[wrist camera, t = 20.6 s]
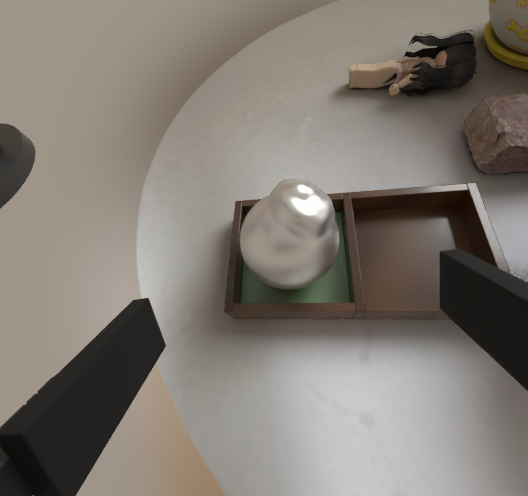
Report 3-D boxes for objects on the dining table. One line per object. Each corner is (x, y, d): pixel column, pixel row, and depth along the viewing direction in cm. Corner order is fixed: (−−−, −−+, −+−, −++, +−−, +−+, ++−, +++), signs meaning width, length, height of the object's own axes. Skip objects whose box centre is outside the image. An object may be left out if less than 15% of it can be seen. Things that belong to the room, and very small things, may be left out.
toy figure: (351, 112, 38) (475, 94, 34) (354, 62, 33) (500, 35, 29) (348, 85, 42) (459, 67, 38) (350, 38, 36) (478, 11, 33)
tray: (233, 318, 27) (223, 311, 25) (242, 216, 33) (235, 200, 30) (501, 319, 23) (525, 311, 21) (460, 201, 29) (475, 182, 26)
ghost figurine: (359, 273, 26) (380, 218, 18) (272, 316, 26) (249, 282, 17) (314, 207, 31) (312, 136, 22) (239, 243, 30) (206, 187, 21)
